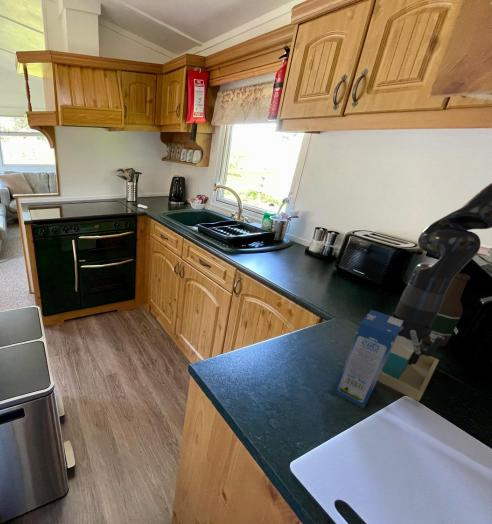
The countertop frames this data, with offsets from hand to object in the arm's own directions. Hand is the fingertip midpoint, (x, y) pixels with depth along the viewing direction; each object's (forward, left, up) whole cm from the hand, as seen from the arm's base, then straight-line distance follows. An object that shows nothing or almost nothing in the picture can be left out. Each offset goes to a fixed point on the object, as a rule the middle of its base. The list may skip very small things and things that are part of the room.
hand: (395, 356), depth 80 cm
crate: (0, 0, -4) cm, 4 cm away
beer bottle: (-4, -30, -4) cm, 31 cm away
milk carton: (+3, +19, -4) cm, 20 cm away
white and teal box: (0, 0, -3) cm, 3 cm away
